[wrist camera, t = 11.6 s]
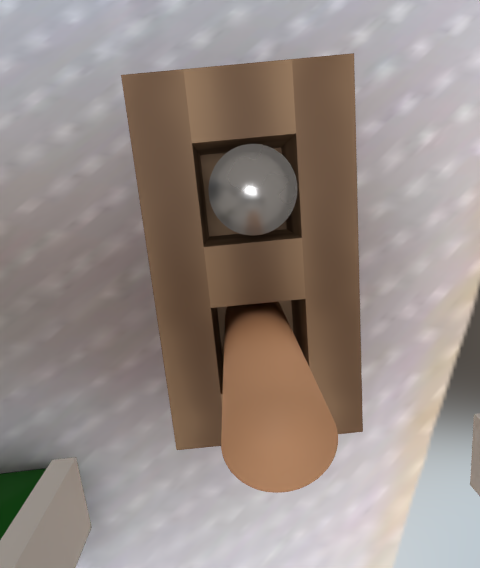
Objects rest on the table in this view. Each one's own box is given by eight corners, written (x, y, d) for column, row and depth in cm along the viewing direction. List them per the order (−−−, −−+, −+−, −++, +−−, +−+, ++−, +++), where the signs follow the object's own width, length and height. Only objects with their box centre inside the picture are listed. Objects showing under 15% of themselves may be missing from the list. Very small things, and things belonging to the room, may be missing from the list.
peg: (228, 347, 29) (227, 498, 15) (221, 292, 28) (214, 395, 14) (284, 341, 29) (340, 486, 15) (280, 286, 28) (335, 383, 14)
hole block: (188, 394, 31) (176, 450, 25) (149, 106, 26) (121, 75, 20) (333, 380, 31) (362, 431, 25) (321, 90, 26) (353, 53, 20)
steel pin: (219, 224, 27) (213, 239, 18) (213, 166, 26) (203, 147, 17) (274, 219, 27) (299, 231, 18) (270, 160, 26) (294, 139, 17)
